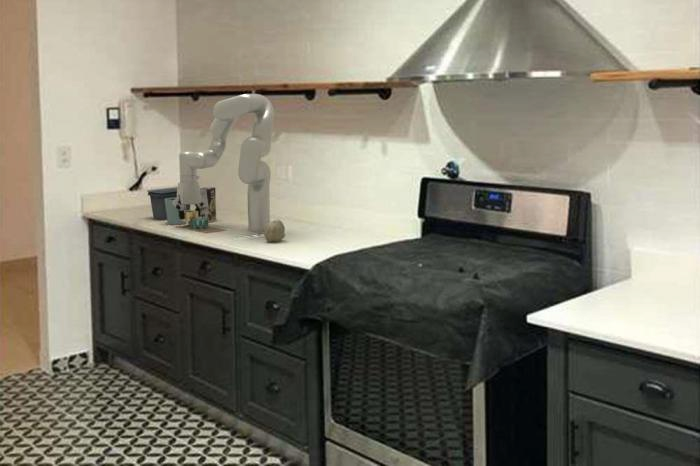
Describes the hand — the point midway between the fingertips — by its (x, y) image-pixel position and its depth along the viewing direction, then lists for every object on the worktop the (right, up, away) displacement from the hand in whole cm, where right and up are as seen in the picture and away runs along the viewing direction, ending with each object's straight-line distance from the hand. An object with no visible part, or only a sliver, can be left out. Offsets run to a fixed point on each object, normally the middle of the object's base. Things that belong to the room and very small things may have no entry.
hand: (189, 217), depth 369 cm
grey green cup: (-10, -3, +18) cm, 21 cm away
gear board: (+6, -6, -6) cm, 11 cm away
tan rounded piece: (+41, -11, -32) cm, 53 cm away
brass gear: (0, -1, 0) cm, 1 cm away
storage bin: (-17, +1, +39) cm, 42 cm away
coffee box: (+4, -1, +24) cm, 25 cm away
